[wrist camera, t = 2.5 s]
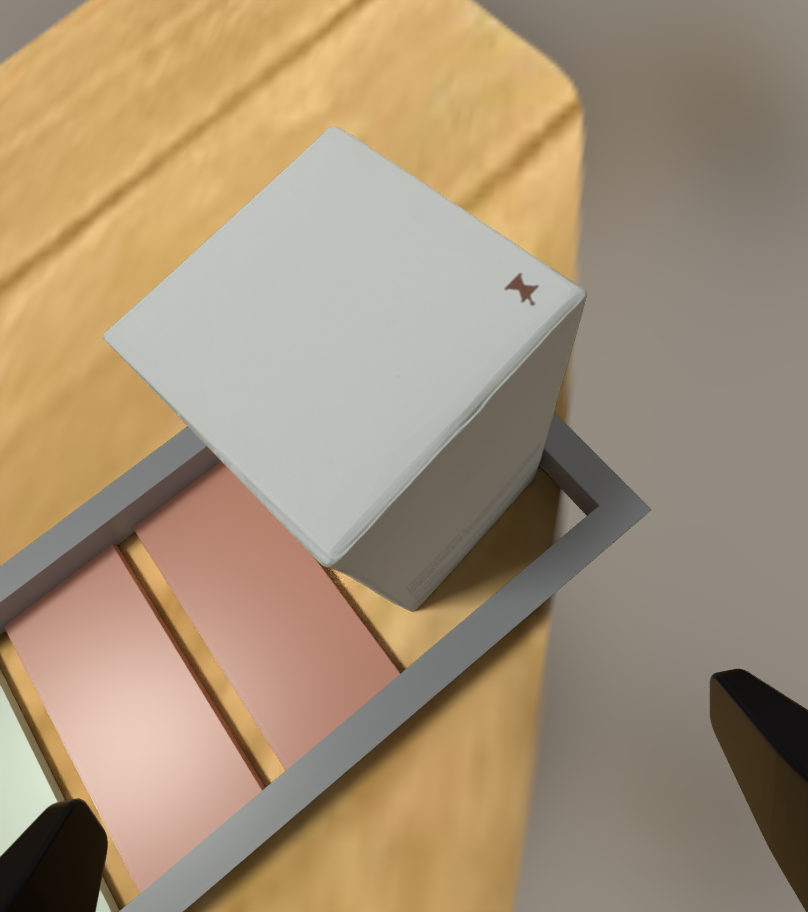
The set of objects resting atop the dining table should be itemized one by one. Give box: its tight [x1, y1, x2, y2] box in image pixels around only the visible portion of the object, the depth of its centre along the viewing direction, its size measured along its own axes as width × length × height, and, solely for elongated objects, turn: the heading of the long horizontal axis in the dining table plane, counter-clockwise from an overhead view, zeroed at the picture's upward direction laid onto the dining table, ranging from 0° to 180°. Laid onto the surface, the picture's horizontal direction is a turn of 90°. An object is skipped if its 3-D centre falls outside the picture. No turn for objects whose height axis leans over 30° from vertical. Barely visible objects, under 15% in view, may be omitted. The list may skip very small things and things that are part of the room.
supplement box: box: [103, 127, 587, 612], centre depth 18 cm, size 7×7×13 cm
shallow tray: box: [0, 412, 651, 912], centre depth 22 cm, size 13×32×2 cm, turn 128°
